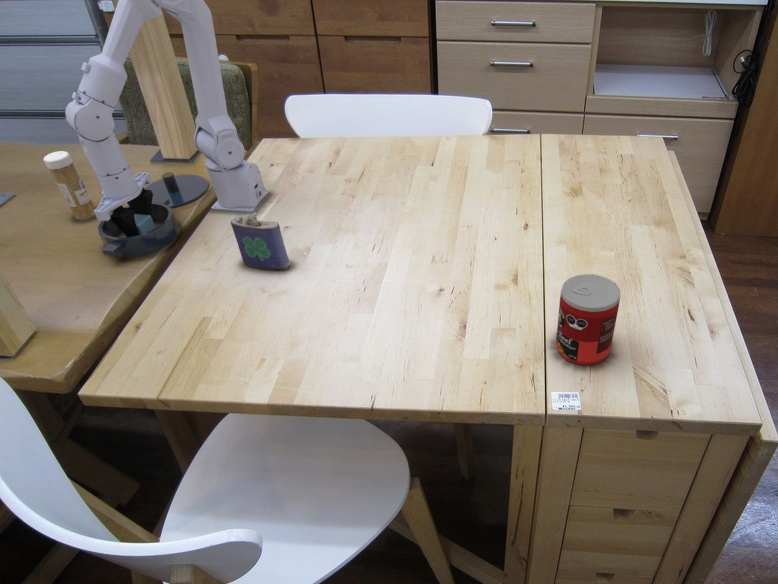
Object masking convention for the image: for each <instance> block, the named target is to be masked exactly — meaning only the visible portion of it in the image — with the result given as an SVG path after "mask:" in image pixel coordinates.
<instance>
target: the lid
mask: <svg viewBox="0 0 778 584" xmlns="http://www.w3.org/2000/svg"><path fill="white" fill-rule="evenodd" d="M145 186H146V185H145ZM145 186H144V189H145V190H151V191H152V193H153V198H152V202H155V201H156V200H157V199H158V198H161V199H169V201H170V204H169V205H168V206H169V207H170V208H171V209H175V208H179V207H183V206H186V205H188V204H190V203H193V202H195V201H197V200H198V199H200V198H201V197H202V196H204V195H205V194H206V193H207V191H208V189H209V182H208V181H207V179H206V178H204V177H203V176H201V175H198V174H197V175H196V174H187V173H185V174H176V175H175V174H174V172H171V171H169V172H164V173H162V174H161V178H160V179H158V180H155V181H154V182H153V181H152V183H151V184H147V186H146V187H145Z"/></svg>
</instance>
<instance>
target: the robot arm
mask: <svg viewBox="0 0 778 584" xmlns="http://www.w3.org/2000/svg"><path fill="white" fill-rule="evenodd" d="M159 7H160V8H162V9H164V11H165V12H167V13H168V14H169V15H170V16H172V17H173V18H174V19H175V20H177V21H179V23H180V26H181V30H182V35H183V36H182V37H183V41H184V46H185V51H186V57H187V62H188V66H189V71H190V77H191V82H192V87H193V93H194V98H195V104H196V109H197V116H196V118H195V121H194V123H195V133H194V136H193V143H194V146H195V148H196V150H197V151H198V152H199V153H201V154H202V155H204V157H205V167H206V170H207V172H208V176H209V179H210V180H211V184H212V187H213V190H214V193H215V196H216V198H217V200H216V202H214V204H213V205H212V206H210V207H211V209H214V210H215V209H216V210H230V211H244V212H245V211H247V212H254V210H255V209H256V208H257V206H258V205H259V204H260V203H261V202H262V200H263V199H264V198H265V197H266V196H267V194H268V193H269V192H268V191H266V189H265V185H264V181H263V177H262V174H261V171H260V168H259V166H258V165H257V164H256V163H254V162H249V161H247V160H245V147H244V144H243V142H242V141H241V139H240V138H239V136H238V130H237V128H236V126H235V124H234V122H233V121H232V119H231V118H230V116H229V114H228V108H227V107H228V106H227V102H226V95H225V89H224V83H223V76H222V70H221V65H220V58H219V51H218V46H217V40H216V34H215V28H214V27H215V26H214V21H213V14H212V12H211V10H210V8H209V6H208V4H207V3H206V2H205V0H117V4H116V7H115V10H114V13H113V17H112V20H111V23H110V26H109V28H108V32H107V35H106V38H105V41H104V45H103V47H102V51H101V53H99V54H97V55H93V56H91V57H89V59H88V62H85V61H84V62H82V65H81V68H80V69H81V71H83V75H82V78H81V80H80V82H79V85H78V88H77V91H76V92H75V91H73V92H72V95H71V98H72V99H73V100H72V101H70V102H69V103H68V104H67V105H66V108H65V113H64V114H65V115H64V116H65V119H64V120H65V122H66V124H67V125H68V126H69V127H70V128H71V129H73V130H74V131H75V132H77V133H76V134H77V137H78V140H79V143H80V144H81V145H82V149H83V152H84V154H85V155H86V158H87V161H88V162H89V164H90V167H91V168H92V170H93V172H94V175H95V176H96V178H97V180H98V182H99V184H100V186H101V189H102V190H101V191H100V192H101V195H102V196H103V197H102V199H101V200H100V202H99V204H98V206H96V207H95V208H96V209H95V210H94V213H95V215H94V216H95V218H96V219H97V221H100V222H101V221H108V220H109V221H111V222H112V223H113V224H114V225H116V226H117V227H118V228H119V229H120V230H121V231H122V233H123V235H124V237H131V236H136V235H140V234H139V231H138V229H137V226H136V223H135V217H134V214H139V215H151V217H152V198H153V193H152V191H151V190H145V189H144V188H145V186H146V185H150V184H151V183H153V180H152V178H151V175H150V172H138V173H137V174H135V175H134V173H133V171H132V170H131V169H132V168H131V167H130V165H129V162H128V160H127V158H126V155H125V153H124V151H123V149H122V146H121V145H120V142H119V140H118V139H117V137H116V134H115V132H114V130H115V120H114V118H113V117H114V116H113V113H114V112H115V110H116V107H117V105H118V102H119V99H120V97H121V95H122V92H123V89H124V86H125V84H126V82H127V80H128V74H127V72H126V68H125V67H124V66H125V65H124V64H125V62H126V60H127V58H128V56H129V53H130V51H131V49H132V48H133V45H134V43H135V41H136V38H137V36H138V35H139V32H140V30H141V28H142V26H143V23H144V22H146V21H149V20H152V19H154V18H157V17H160V16H162V15H163V14H164V13H163V12H162V11H161V9H159ZM125 204H127V206H130V208H131V209H132V210H128V209H126V208H125V207H126V206H123V205H125ZM123 207H124V208H123ZM152 220H153V218H152Z"/></svg>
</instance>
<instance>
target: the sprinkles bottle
mask: <svg viewBox="0 0 778 584" xmlns="http://www.w3.org/2000/svg"><path fill="white" fill-rule="evenodd" d="M43 162H44V164H45V166H46V168H47V169H48V170H49V171H50V173H51V175H52V176H53V179H54V180H55V183H56V185H57V187H58V188H59V190H60V192H61V194H62V196H63V198H64V200H65V202H66V203H67V205H68V207H69V208H70V210H71V211H72V213H73V216H74V219H77V220H85V219H89V218H92V217H93V216H96V215H95V213H94V210H95V209H96V208H97V207H96V206H95V205H94V202H93V200H92V198H91V195H90V193H89V191H88V190H87V188H86V185H85V184H84V182H83V180H82V178H81V177H80V175H79V173H78V171H77V169H76V167H75V165H74V162H73V159H72V157H71V154H70V153H69V152H68V151H64V150H58V151H53V152H50V153H48V154H46V155H45V156H44V157H43Z"/></svg>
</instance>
